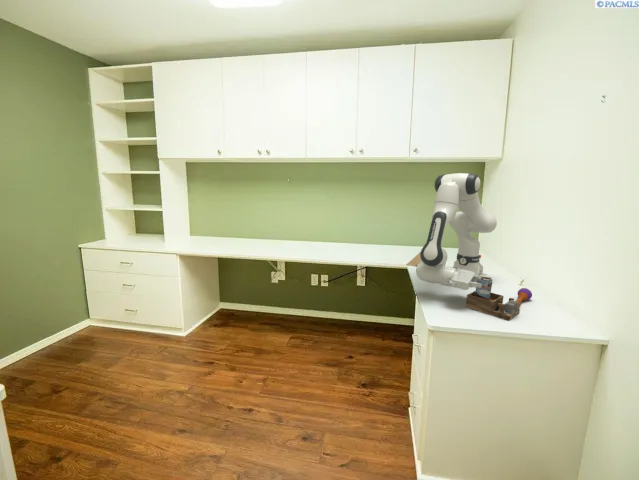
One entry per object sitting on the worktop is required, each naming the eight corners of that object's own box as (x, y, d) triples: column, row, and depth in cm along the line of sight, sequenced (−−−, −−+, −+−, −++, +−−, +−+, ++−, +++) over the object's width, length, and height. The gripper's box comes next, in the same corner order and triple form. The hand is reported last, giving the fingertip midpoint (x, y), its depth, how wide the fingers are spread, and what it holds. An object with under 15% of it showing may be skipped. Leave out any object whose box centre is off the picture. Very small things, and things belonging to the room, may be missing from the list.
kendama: (506, 298, 145) (518, 286, 159) (507, 311, 146) (520, 297, 159) (521, 300, 141) (532, 287, 154) (522, 313, 141) (533, 298, 155)
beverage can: (474, 302, 142) (477, 277, 139) (474, 297, 148) (477, 272, 146) (490, 305, 139) (493, 279, 137) (489, 299, 146) (492, 274, 143)
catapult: (477, 301, 152) (478, 289, 151) (519, 313, 138) (521, 300, 137) (465, 307, 144) (467, 294, 143) (508, 320, 131) (510, 307, 130)
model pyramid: (405, 265, 213) (406, 251, 212) (411, 260, 228) (412, 246, 226) (430, 269, 205) (431, 254, 203) (435, 263, 220) (436, 249, 218)
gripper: (446, 275, 141) (480, 282, 133) (456, 266, 158) (487, 271, 150) (445, 289, 142) (478, 296, 135) (454, 278, 159) (485, 283, 151)
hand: (483, 282), depth 142 cm, fingers open, 8 cm apart
